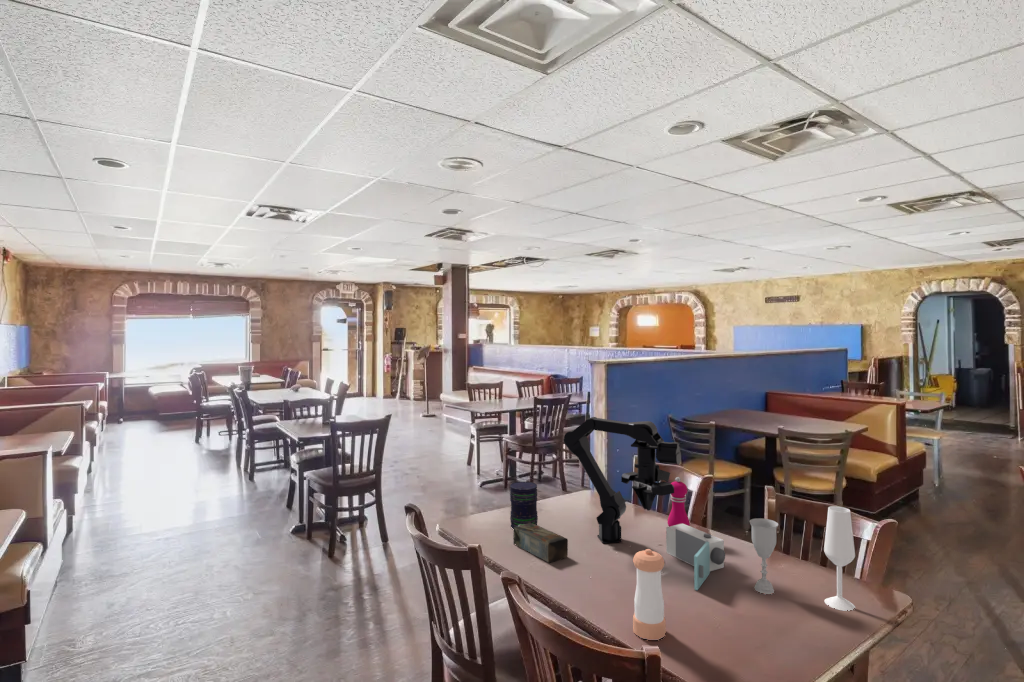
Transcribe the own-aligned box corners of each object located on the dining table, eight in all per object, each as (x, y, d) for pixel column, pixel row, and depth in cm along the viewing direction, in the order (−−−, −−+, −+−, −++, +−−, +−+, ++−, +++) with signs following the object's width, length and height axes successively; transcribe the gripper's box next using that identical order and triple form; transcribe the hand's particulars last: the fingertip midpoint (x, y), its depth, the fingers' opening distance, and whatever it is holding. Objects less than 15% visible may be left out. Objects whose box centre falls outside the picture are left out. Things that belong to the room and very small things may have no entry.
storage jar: (512, 521, 198) (511, 481, 198) (539, 522, 197) (538, 481, 197) (508, 531, 188) (507, 488, 188) (536, 532, 187) (535, 489, 187)
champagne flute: (818, 597, 139) (818, 505, 139) (845, 597, 139) (844, 504, 138) (833, 610, 132) (833, 513, 132) (861, 611, 132) (861, 513, 132)
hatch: (706, 572, 153) (706, 541, 153) (713, 574, 152) (712, 542, 152) (694, 589, 144) (694, 556, 144) (701, 591, 143) (701, 557, 142)
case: (665, 553, 168) (665, 523, 168) (682, 548, 172) (682, 519, 171) (710, 574, 153) (710, 542, 152) (728, 569, 156) (728, 537, 156)
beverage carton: (531, 539, 182) (531, 519, 182) (569, 558, 166) (569, 537, 166) (512, 544, 177) (512, 524, 177) (549, 565, 161) (549, 543, 161)
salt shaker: (660, 623, 128) (659, 543, 127) (670, 640, 120) (669, 555, 120) (629, 624, 127) (628, 543, 127) (637, 641, 120) (637, 556, 120)
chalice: (766, 598, 139) (765, 529, 138) (744, 587, 145) (743, 521, 144) (784, 592, 142) (784, 524, 142) (762, 581, 148) (761, 516, 148)
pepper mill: (687, 532, 185) (686, 474, 185) (692, 540, 178) (691, 480, 178) (665, 531, 186) (665, 474, 186) (669, 539, 179) (669, 479, 179)
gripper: (686, 464, 168) (687, 513, 169) (645, 453, 185) (646, 498, 185) (660, 468, 163) (660, 520, 163) (620, 456, 180) (620, 503, 180)
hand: (647, 509), depth 173 cm, fingers closed
